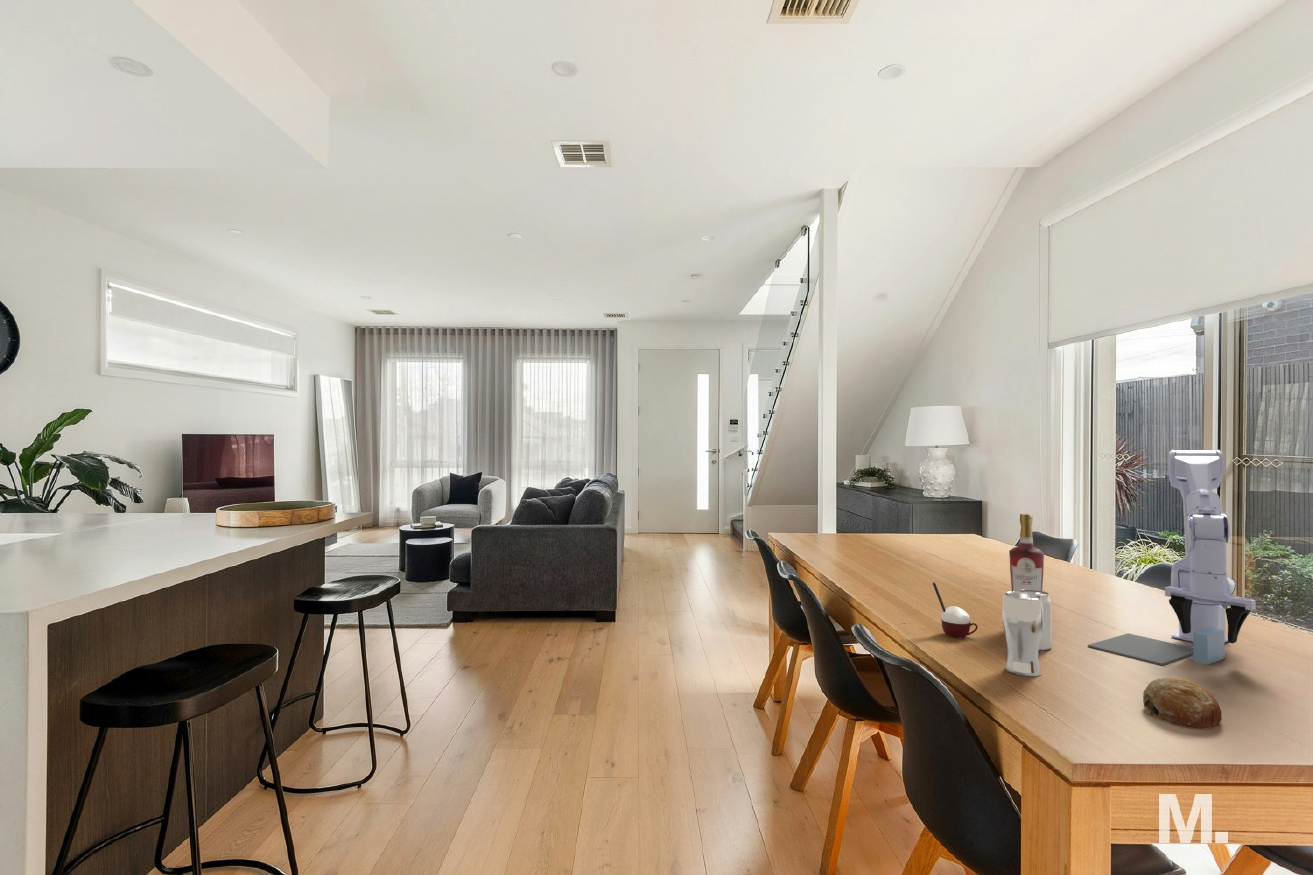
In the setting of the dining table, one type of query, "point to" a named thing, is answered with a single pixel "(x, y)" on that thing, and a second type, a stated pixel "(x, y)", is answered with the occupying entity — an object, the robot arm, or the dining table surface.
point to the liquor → (1026, 560)
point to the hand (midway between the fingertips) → (1208, 637)
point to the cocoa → (954, 620)
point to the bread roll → (1181, 703)
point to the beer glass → (1023, 632)
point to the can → (1044, 618)
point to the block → (1208, 645)
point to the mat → (1144, 648)
